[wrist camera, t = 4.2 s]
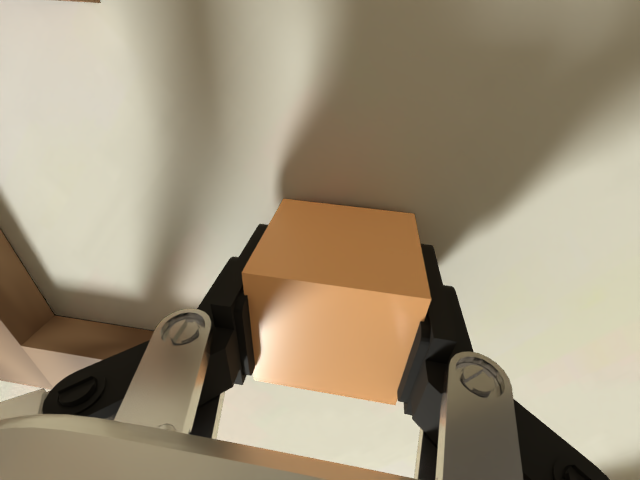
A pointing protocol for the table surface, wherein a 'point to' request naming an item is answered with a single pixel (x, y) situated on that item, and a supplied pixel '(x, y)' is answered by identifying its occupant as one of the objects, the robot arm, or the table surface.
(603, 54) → the table surface
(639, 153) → the table surface
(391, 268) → the copper-coloured cube
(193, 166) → the table surface
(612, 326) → the table surface
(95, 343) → the u-shaped wooden board
